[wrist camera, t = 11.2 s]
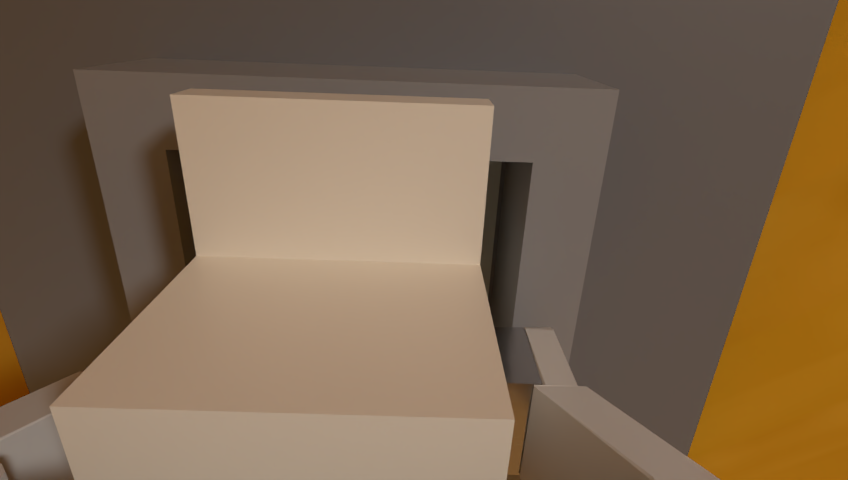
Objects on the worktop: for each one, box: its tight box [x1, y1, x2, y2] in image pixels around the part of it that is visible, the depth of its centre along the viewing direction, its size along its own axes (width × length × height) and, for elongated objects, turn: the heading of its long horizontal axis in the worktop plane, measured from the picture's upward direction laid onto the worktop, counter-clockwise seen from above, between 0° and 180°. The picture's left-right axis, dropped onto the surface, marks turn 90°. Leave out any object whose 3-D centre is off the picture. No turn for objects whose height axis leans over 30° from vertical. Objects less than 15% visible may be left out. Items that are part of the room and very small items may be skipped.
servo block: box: [49, 88, 515, 480], centre depth 8 cm, size 9×4×6 cm, turn 178°
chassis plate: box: [0, 0, 838, 480], centre depth 11 cm, size 18×18×4 cm
